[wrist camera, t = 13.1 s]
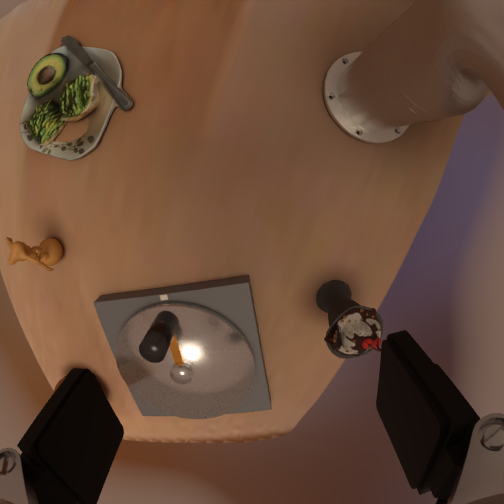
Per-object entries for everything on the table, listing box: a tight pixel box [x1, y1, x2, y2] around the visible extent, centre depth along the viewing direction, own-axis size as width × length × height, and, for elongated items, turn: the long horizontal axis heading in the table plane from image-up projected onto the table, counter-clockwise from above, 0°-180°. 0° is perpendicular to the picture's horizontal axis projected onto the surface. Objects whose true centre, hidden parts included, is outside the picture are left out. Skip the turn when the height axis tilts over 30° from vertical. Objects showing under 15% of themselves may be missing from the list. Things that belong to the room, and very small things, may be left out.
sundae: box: [317, 280, 383, 358], centre depth 33 cm, size 7×7×15 cm
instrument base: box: [94, 275, 272, 416], centre depth 42 cm, size 22×22×3 cm
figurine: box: [6, 237, 63, 271], centre depth 33 cm, size 8×6×12 cm
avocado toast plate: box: [20, 35, 133, 160], centre depth 31 cm, size 19×18×5 cm
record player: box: [115, 302, 255, 419], centre depth 36 cm, size 20×20×8 cm
